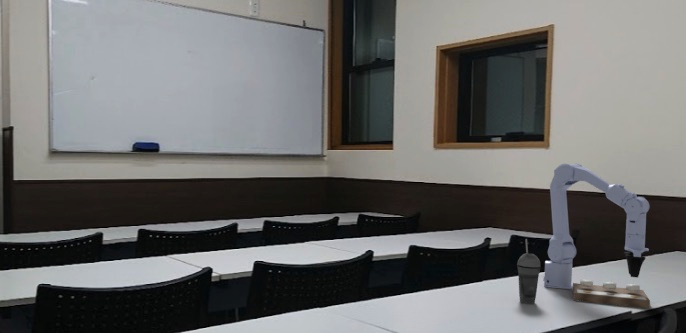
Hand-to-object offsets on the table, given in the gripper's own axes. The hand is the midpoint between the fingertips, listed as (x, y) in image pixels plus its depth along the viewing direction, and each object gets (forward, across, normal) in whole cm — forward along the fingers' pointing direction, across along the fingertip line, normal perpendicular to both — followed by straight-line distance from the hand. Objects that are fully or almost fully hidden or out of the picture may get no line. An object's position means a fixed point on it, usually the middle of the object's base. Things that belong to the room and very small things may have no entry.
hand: (633, 275), depth 195 cm
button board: (+8, 0, +7) cm, 11 cm away
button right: (+5, 0, 0) cm, 5 cm away
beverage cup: (+9, -18, +32) cm, 38 cm away
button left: (+5, 0, +14) cm, 15 cm away
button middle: (+5, 0, +7) cm, 8 cm away
